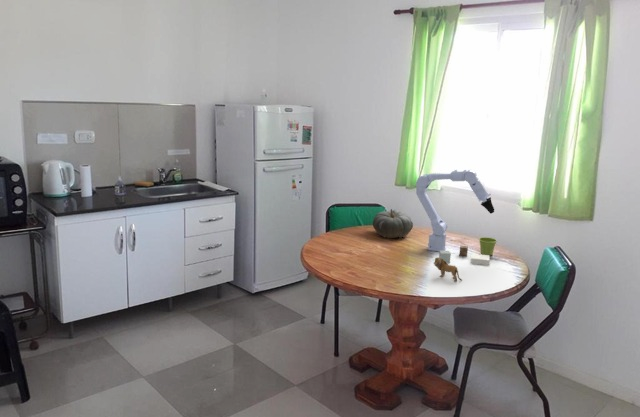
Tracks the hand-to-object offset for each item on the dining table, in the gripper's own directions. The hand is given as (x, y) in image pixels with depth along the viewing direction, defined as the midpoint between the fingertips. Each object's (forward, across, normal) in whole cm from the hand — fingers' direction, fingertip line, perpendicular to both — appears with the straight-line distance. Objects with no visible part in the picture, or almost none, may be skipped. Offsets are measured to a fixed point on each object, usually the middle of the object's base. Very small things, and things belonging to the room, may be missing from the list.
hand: (492, 211), depth 265 cm
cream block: (+19, -8, +18) cm, 28 cm away
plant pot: (+20, +6, +15) cm, 26 cm away
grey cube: (+9, -14, +33) cm, 37 cm away
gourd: (-14, +25, +61) cm, 67 cm away
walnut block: (+13, 0, +25) cm, 29 cm away
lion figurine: (+13, -40, +32) cm, 53 cm away
